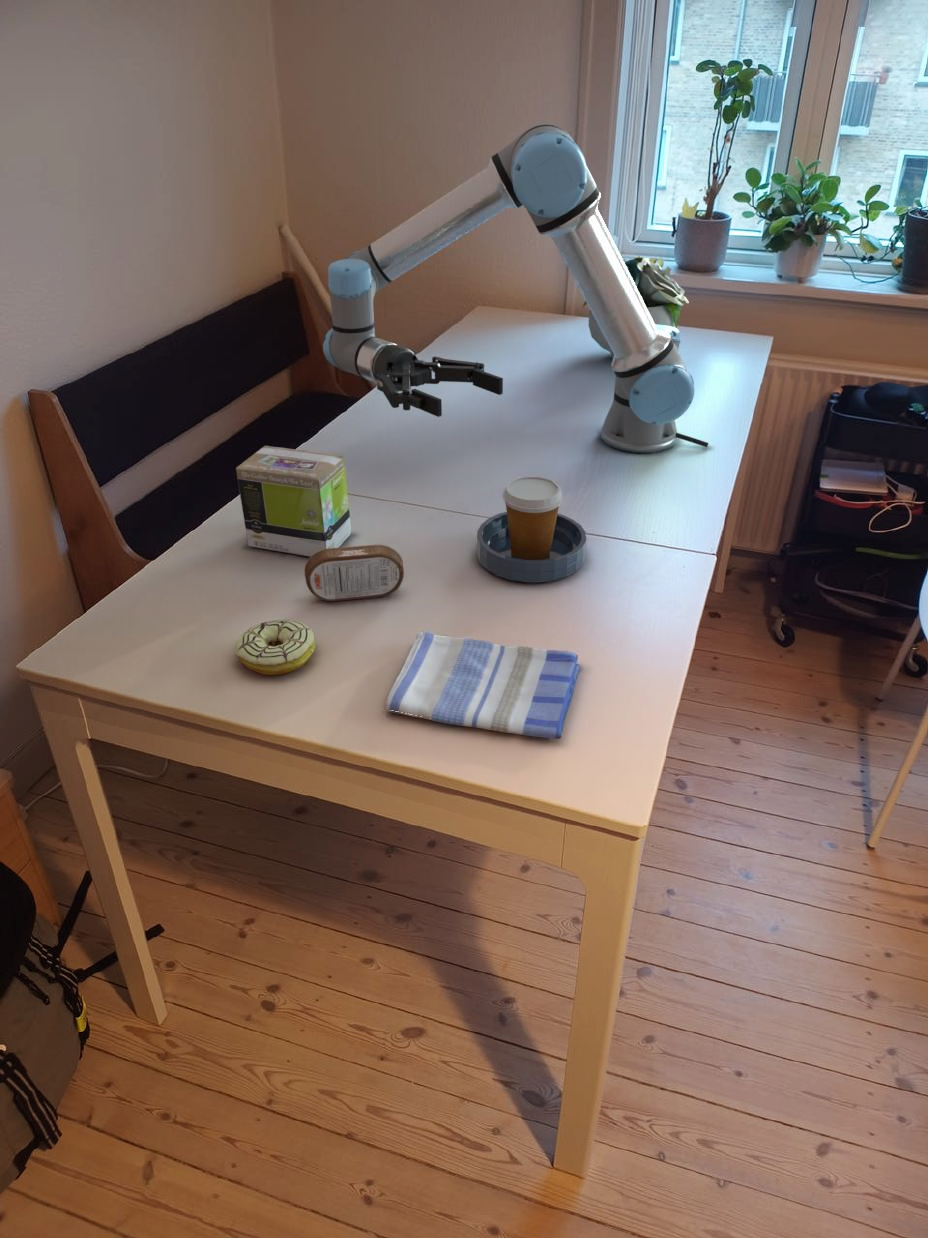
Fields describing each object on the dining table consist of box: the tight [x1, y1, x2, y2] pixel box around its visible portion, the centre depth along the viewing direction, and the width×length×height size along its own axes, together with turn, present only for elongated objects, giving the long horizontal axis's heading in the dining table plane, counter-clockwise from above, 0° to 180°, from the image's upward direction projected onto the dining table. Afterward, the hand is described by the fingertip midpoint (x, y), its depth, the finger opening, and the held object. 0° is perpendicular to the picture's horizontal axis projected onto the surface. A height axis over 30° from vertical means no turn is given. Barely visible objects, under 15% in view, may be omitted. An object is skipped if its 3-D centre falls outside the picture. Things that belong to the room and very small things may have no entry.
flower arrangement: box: [581, 255, 690, 359], centre depth 229 cm, size 25×25×24 cm
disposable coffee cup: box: [502, 475, 564, 560], centre depth 151 cm, size 10×10×12 cm
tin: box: [303, 544, 405, 602], centre depth 143 cm, size 15×3×8 cm, turn 100°
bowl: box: [476, 511, 587, 583], centre depth 154 cm, size 18×18×4 cm
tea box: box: [235, 445, 352, 558], centre depth 155 cm, size 15×10×15 cm
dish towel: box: [385, 630, 581, 740], centre depth 125 cm, size 17×24×3 cm
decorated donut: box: [234, 619, 316, 676], centre depth 131 cm, size 10×11×4 cm
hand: (471, 397), depth 152 cm, fingers open, 13 cm apart
